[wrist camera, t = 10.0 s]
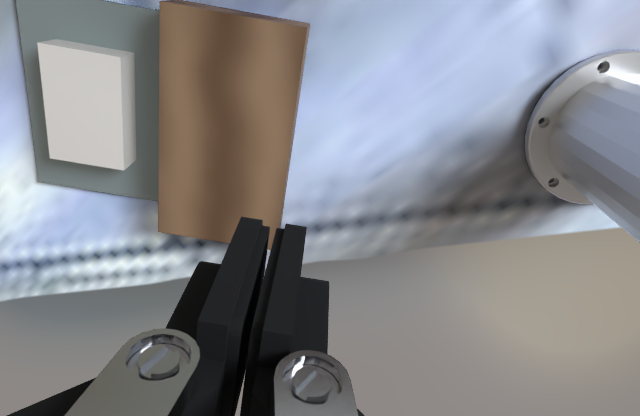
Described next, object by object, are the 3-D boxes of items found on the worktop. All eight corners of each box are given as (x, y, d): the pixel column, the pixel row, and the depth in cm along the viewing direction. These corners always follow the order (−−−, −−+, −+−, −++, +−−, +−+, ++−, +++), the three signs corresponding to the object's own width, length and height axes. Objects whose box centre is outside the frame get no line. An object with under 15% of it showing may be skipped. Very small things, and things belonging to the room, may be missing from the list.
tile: (37, 42, 32) (56, 39, 35) (49, 158, 36) (66, 148, 39) (120, 57, 33) (134, 52, 35) (123, 170, 37) (136, 160, 39)
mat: (171, 12, 34) (169, 13, 34) (168, 200, 41) (166, 202, 41) (18, -15, 34) (13, -15, 33) (41, 179, 41) (38, 181, 40)
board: (310, 23, 34) (307, 27, 30) (280, 228, 42) (275, 250, 38) (178, -1, 34) (159, 1, 30) (173, 210, 42) (158, 231, 38)
